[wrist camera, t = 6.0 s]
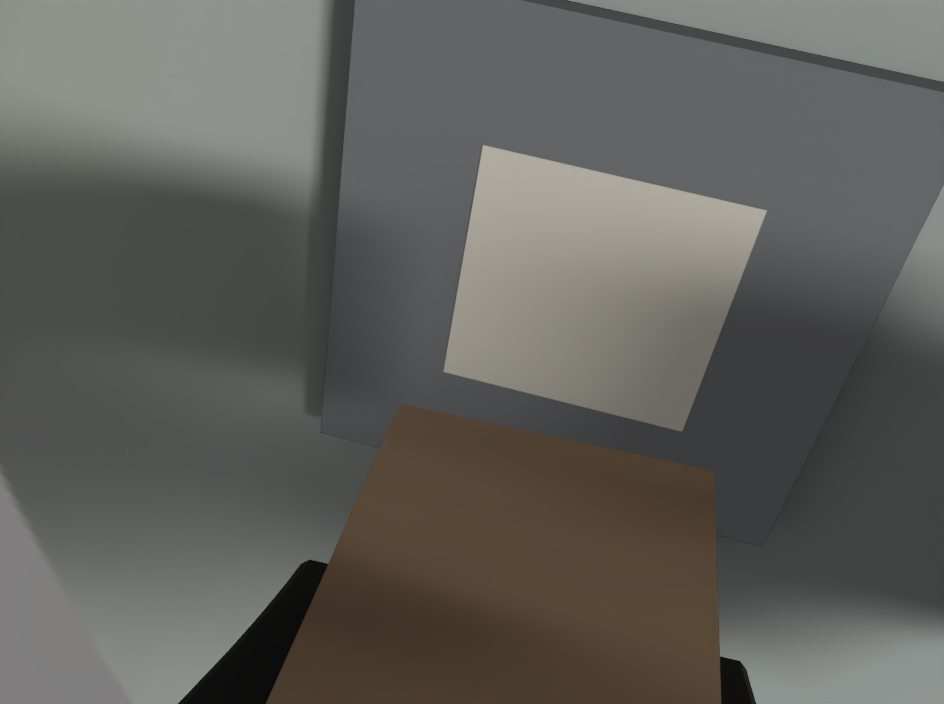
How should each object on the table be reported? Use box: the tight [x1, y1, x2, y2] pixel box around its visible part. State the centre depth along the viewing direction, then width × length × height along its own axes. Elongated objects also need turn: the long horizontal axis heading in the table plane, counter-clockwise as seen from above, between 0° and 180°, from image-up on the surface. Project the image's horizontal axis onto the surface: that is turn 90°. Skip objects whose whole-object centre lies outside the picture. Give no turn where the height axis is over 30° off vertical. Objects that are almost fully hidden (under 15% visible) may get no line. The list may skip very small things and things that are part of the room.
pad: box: [320, 0, 944, 547], centre depth 17 cm, size 10×10×1 cm
